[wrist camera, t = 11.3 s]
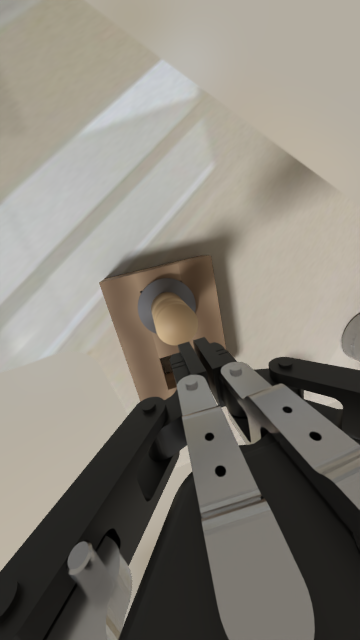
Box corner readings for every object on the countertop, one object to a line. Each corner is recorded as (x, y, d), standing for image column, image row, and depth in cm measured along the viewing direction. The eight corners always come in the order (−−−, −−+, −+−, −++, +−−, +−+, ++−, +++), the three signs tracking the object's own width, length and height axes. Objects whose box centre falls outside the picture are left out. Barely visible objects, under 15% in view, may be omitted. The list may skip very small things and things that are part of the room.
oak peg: (181, 269, 28) (206, 278, 18) (191, 316, 30) (219, 348, 20) (131, 281, 27) (127, 298, 17) (145, 329, 30) (149, 369, 19)
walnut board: (201, 255, 28) (210, 255, 24) (221, 368, 34) (231, 382, 30) (104, 278, 27) (99, 282, 23) (143, 392, 33) (143, 410, 29)
